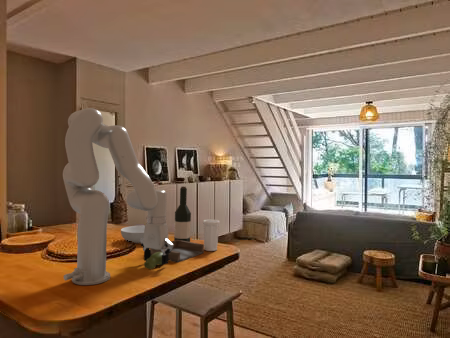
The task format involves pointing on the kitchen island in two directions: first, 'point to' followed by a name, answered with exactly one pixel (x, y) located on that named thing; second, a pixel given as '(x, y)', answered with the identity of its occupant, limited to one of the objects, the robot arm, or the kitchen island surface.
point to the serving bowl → (133, 233)
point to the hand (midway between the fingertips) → (155, 262)
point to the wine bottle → (182, 218)
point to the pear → (154, 260)
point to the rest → (183, 250)
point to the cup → (211, 234)
